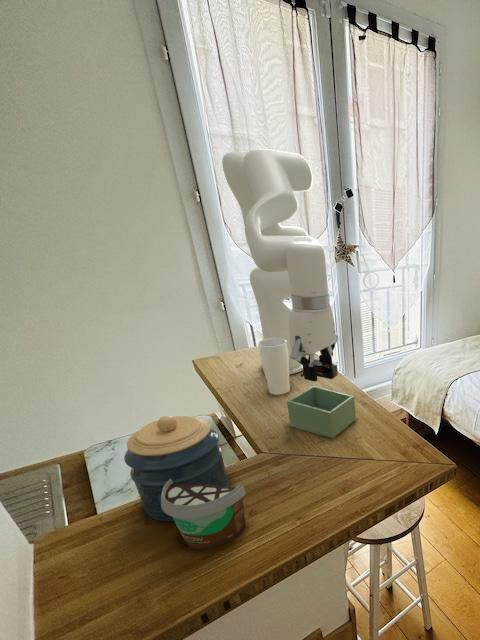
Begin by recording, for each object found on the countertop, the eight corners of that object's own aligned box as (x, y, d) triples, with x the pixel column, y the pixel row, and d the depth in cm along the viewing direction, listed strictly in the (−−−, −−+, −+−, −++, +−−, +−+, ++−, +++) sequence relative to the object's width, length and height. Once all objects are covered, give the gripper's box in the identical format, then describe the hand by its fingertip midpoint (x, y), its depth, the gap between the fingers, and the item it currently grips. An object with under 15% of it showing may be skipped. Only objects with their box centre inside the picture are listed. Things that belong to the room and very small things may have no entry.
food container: (154, 552, 63) (136, 505, 59) (181, 522, 69) (166, 478, 65) (233, 557, 64) (220, 511, 60) (254, 527, 70) (244, 483, 65)
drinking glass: (298, 387, 115) (291, 339, 108) (284, 398, 109) (276, 348, 102) (275, 384, 115) (268, 336, 109) (260, 395, 109) (251, 344, 102)
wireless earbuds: (312, 370, 97) (311, 358, 95) (339, 375, 96) (338, 363, 94) (300, 378, 93) (298, 365, 91) (327, 383, 92) (326, 371, 90)
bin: (316, 408, 106) (313, 385, 102) (355, 419, 103) (354, 396, 100) (290, 426, 97) (286, 401, 94) (332, 438, 95) (330, 413, 92)
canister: (233, 506, 73) (214, 426, 66) (142, 534, 66) (108, 448, 58) (227, 466, 82) (209, 393, 75) (146, 487, 75) (117, 408, 68)
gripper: (322, 291, 95) (329, 360, 103) (265, 307, 80) (278, 386, 88) (349, 296, 93) (354, 365, 101) (296, 313, 78) (306, 394, 86)
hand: (318, 374), depth 94 cm, fingers closed on wireless earbuds, 4 cm apart
